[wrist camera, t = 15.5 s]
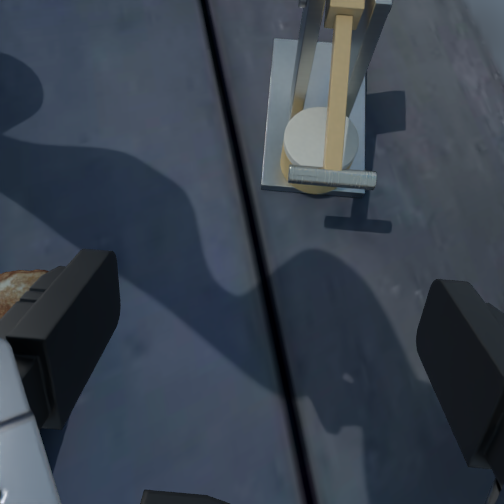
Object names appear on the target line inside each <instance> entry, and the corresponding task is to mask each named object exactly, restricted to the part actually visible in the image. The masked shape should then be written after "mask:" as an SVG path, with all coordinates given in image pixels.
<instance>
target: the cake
mask: <svg viewBox="0 0 504 504" xmlns="http://www.w3.org/2000/svg"><path fill="white" fill-rule="evenodd" d="M326 119H327V107H312V108H308V109H305V110H303V111H300V112H299V113H297V114H296V115H295V116H294V117H293V118H292V119H291V120H290V121H289V123H288V124H287V126H286V129H285V133H284V140H283V146H282V153H281V160H280V165H281V170H282V173H283V175H284V177H285V178H286V180H287V181H288V172H289V165H290V164H292V165H304V166H316V167H323V158H324V145H325V132H326ZM358 147H359V136H358V132H357V129H356V127H355V126H354V124H353V123H352V121H351V120H350V119H349V118H348V117H347V116H346V120H345V134H344V147H343V161H342V169H350V166H351V164H352V162H353V160H354V158H355V156H356V153H357V151H358ZM290 184H291V185H292V186H293V187H295V188H296V189H298V190H300V191H302V192H305V193H310V194H322V193H327V192H329V191H332V190H334V189H335V188H337V187H328V186H316V185H304V184H292V183H290Z"/></svg>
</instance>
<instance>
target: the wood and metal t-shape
mask: <svg viewBox="0 0 504 504" xmlns="http://www.w3.org/2000/svg"><path fill="white" fill-rule="evenodd" d="M364 8H365V0H326V9H325V22H324V28H333V41H332V54H331V67H330V80H329V93H328V106H327V119H326V132H325V145H324V158H323V167H316V166H304V165H292V164H290V165H289V172H288V183H292V184H304V185H316V186H328V187H340V188H352V189H364V190H374V188H375V186H376V181H377V174H376V172H375V171H365V170H352V169H342V161H343V147H344V134H345V120H346V107H347V93H348V80H349V66H350V52H351V39H352V30H356V28H357V26H358V23H359V21H360V18H361V16H362V13H363V11H364Z"/></svg>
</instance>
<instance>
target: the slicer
mask: <svg viewBox="0 0 504 504" xmlns="http://www.w3.org/2000/svg"><path fill="white" fill-rule="evenodd" d="M325 1H326V0H299V3H298V6H299V7H301V8H303V12H302V19H301V26H300V32H299V39H298V40H290V39H278V38H274V44H273V56H272V67H271V79H270V90H269V101H268V113H267V124H266V136H265V147H264V159H263V170H262V182H261V190H272V191H284V192H296V193H305V192H302V191H300V190H298V189H296V188H295V187H293V186H292V185H291V184H290V183H288V181H287V180H286V178H285V177H284V175H283V173H282V170H281V165H280V160H281V153H282V146H283V140H284V133H285V129H286V126H287V124H288V123H289V121H290V120H291V119H292V118H293V117H294V116H295V115H296V114H297V113H299V112H300V111H303V110H305V109H308V108H312V107H327V106H328V93H329V80H330V67H331V54H332V43H328V42H317V40H318V35H319V30H320V25H321V20H322V15H323V10H324V6H325ZM392 3H393V0H365V8H364V11H363V13H362V16H361V18H360V21H359V23H358V26H357V28H356V30H352V39H351V52H350V66H349V80H348V93H347V107H346V116H347V117H348V118H349V119H350V120H351V121H352V123H353V124H354V126H355V127H356V129H357V132H358V136H359V147H358V151H357V153H356V156H355V158H354V160H353V162H352V164H351V166H350V169H352V170H365V74H366V71H367V69H368V66H369V63H370V61H371V58H372V55H373V53H374V50H375V47H376V45H377V42H378V39H379V37H380V34H381V31H382V29H383V26H384V23H385V21H386V18H387V15H388V14H389V12H390V10H391V7H392ZM308 194H310V193H308ZM364 194H365V190H364V189H352V188H340V187H337V188H335V189H334V190H332V191H329V192H327V193H322V194H320V195H332V196H344V197H356V198H362V197H363V195H364Z"/></svg>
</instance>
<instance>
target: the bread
mask: <svg viewBox="0 0 504 504" xmlns="http://www.w3.org/2000/svg"><path fill="white" fill-rule="evenodd" d="M47 272H49V271H46V270H33V271H24V270H18V271H11V272H5V273H2V274H0V319H1V318H2V317H3V316H4V314H5V313H6V312H7V311H8V310H9V309H10V308H11V307H12V306H13V305H14V304H15V303H16V302H17V301H19V300H20V298H21V297H22V295H23V294H24V293H25V292H26V291H29V288H30V287H31V286H32V285H33V284H34V283H35V282H36V281H37V280H38V279H39V278H40V276H42V275H44V274H46V273H47Z"/></svg>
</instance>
